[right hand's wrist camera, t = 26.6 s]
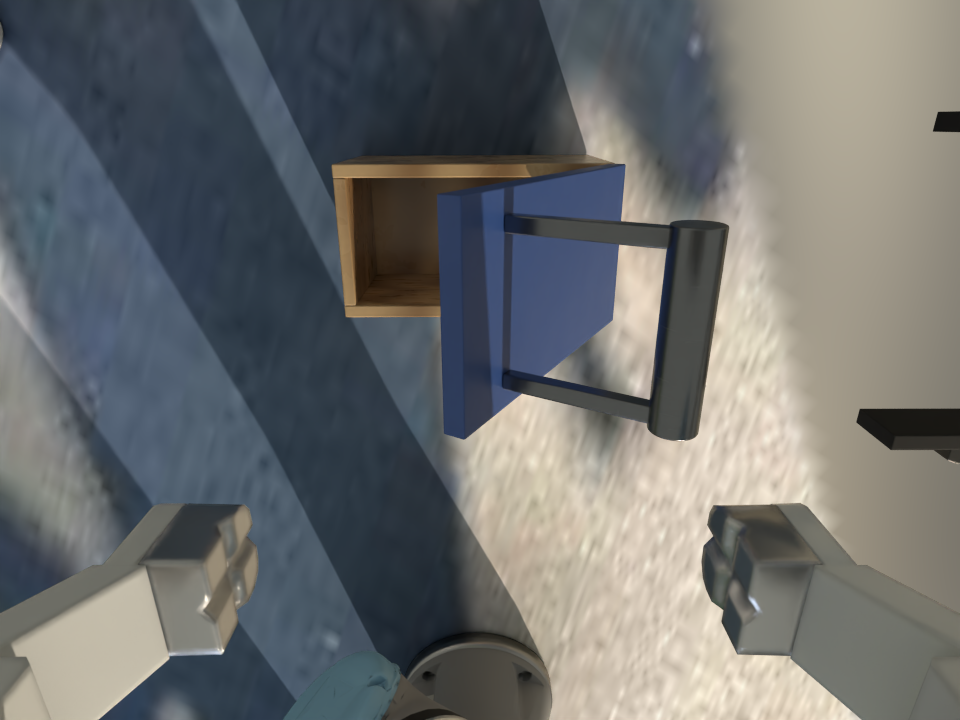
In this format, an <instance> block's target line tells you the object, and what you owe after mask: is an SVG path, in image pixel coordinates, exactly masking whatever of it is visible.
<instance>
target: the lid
mask: <svg viewBox="0 0 960 720" xmlns="http://www.w3.org/2000/svg"><path fill="white" fill-rule="evenodd" d="M624 177H625V164H605V165H599V166H594V167H588V168H582V169H577V170H571V171H565V172H559V173H554V174H548V175H542V176H537V177H531V178H525V179H520V180H514V181H508V182H503V183H497V184H491V185H485V186H480V187H474V188H468V189H463V190H457V191H451V192H446V193H440V194H437V213H438V246H439V280H440V313H441V347H442V381H443V414H444V434H447V435H450V436H454V437H457V438H460V439H466V438H467V437H469V436H470V435H471V434H472V433H473V432H475V431H476V430H477V429H478V428H480V427H481V426H482V425H483V424H485V423H486V422H487V421H488V420H490V419H491V418H492V417H493V416H495V415H496V414H497V413H498V412H499V411H501V410H502V409H503V408H504V407H506V406H507V405H508V404H509V403H511V402H512V401H513V400H514V399H516V398H517V397H518V396H519V395H521V394H527V395H531V396H535V397H539V398H543V399H547V400H552V401H556V402H560V403H564V404H568V405H573V406H577V407H581V408H585V409H589V410H593V411H598V412H602V413H606V414H610V415H614V416H619V417H623V418H627V419H631V420H635V421H639V422H644V423H647V428H648V430H649V431H650V432H651V433H652V434H654V435H656V436H658V437H660V438H663V439H667V440H672V441H686V440H691V439H693V438H695V437H696V436H697V434H698V431H699V424H700V418H701V411H702V404H703V398H704V391H705V384H706V378H707V371H708V365H709V358H710V351H711V345H712V338H713V331H714V325H715V318H716V311H717V305H718V298H719V291H720V285H721V278H722V272H723V265H724V258H725V252H726V245H727V238H728V232H729V226H728V225H727V224H724V223H720V222H714V221H703V220H681V221H674V222H671V223H670V225H660V224H647V223H635V222H622V221H621V213H622V201H623V189H624ZM619 245H629V246H639V247H650V248H660V249H667V252H666V261H665V270H664V279H663V287H662V296H661V305H660V314H659V323H658V331H657V340H656V349H655V358H654V367H653V376H652V384H651V393H650V400H648V399H643V398H638V397H634V396H629V395H625V394H620V393H616V392H611V391H607V390H602V389H598V388H593V387H588V386H584V385H579V384H575V383H570V382H566V381H561V380H557V379H552V378H548V377H543V376H544V375H545V374H546V373H548V372H549V371H550V370H551V369H553V368H554V367H555V366H556V365H558V364H559V363H560V362H561V361H563V360H564V359H565V358H566V357H568V356H569V355H570V354H571V353H572V352H574V351H575V350H576V349H577V348H579V347H580V346H581V345H582V344H584V343H585V342H586V341H587V340H589V339H590V338H591V337H592V336H594V335H595V334H596V333H597V332H598V331H600V330H601V329H602V328H603V327H605V326H606V325H607V324H608V323H610V322H611V321H612V320H613V310H614V298H615V286H616V274H617V262H618V250H619Z"/></svg>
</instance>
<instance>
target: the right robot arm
mask: <svg viewBox="0 0 960 720" xmlns="http://www.w3.org/2000/svg"><path fill="white" fill-rule="evenodd" d="M2 41H3V29H2V25H1V23H0V48H1V45H2ZM252 525H253V524H252V519H251V515H250V510H249V508H247V507H246V506H245V505H234V504H185V503H161V504H158V505H155V506H153V507H152V508H151V509H150V510H149V512H148V513H147V514H146V515H145V516H144V517H143V519H142V520H141V521H140V522H139V523H138V524H137V526H136V527H135V528H134V529H133V530H132V531H131V533H130V534H129V535H128V536H127V537H126V538H125V540H124V541H123V542H122V543H121V544H120V545H119V547H118V548H117V549H116V550H115V551H114V552H113V554H112V555H111V556H110V557H109V558H108V559H107V561H106V562H105V563H104V564H103V565H93V566H91V567H89V568H87V569H85V570H83V571H81V572H79V573H77V574H75V575H73V576H71V577H69V578H68V579H66V580H64V581H62V582H60V583H58V584H56V585H54V586H52V587H50V588H48V589H46V590H44V591H42V592H41V593H39V594H37V595H35V596H33V597H31V598H29V599H27V600H25V601H23V602H21V603H19V604H17V605H15V606H13V607H12V608H10V609H8V610H6V611H4V612H2V613H0V720H99V719H100V718H101V717H102V716H103V715H104V714H106V713H107V712H108V711H109V710H110V709H111V708H113V707H114V706H115V705H116V704H117V703H118V702H120V701H121V700H122V699H123V698H124V697H125V696H127V695H128V694H129V693H130V692H131V691H132V690H134V689H135V688H136V687H137V686H138V685H139V684H141V683H142V682H143V681H144V680H145V679H146V678H148V677H149V676H150V675H151V674H152V673H153V672H155V671H156V670H157V669H158V668H159V667H160V666H162V665H163V664H164V663H165V662H166V661H167V660H169V656H181V655H215V654H223V653H224V650H225V648H226V646H227V644H228V642H229V640H230V638H231V636H232V634H233V632H234V630H235V628H236V626H237V624H238V616H237V611H236V610H237V609H238V608H240V607H241V606H243V605H244V604H245V603H247V602H248V601H249V599H250V597H251V594H252V592H253V590H254V588H255V583H256V578H257V574H258V554H257V547H256V545H255V544H254V543H253V542H252V541H251V540H250V539H249V538H248V537H247V534H248V533H249V531H250V529H251V527H252ZM707 525H708V527H709V529H710V531H711V533H712V534H713V537H712V538H711V539H710V540H709V541H708V542H707V543H706V544H705V545H704V547H703V555H702V573H703V580H704V583H705V587H706V590H707V592H708V595H709V597H710V599H711V601H712V602H713V603H715V604H716V605H717V606H719V607H720V608H722V609H723V610H724V611H723V616H722V624H723V626H724V628H725V630H726V632H727V634H728V636H729V638H730V640H731V642H732V644H733V646H734V648H735V650H736V652H737V654H743V655H779V656H791V659H792V660H793V661H794V662H795V663H796V664H798V665H799V666H800V667H801V668H802V669H803V670H805V671H806V672H807V673H808V674H809V675H810V676H812V677H813V678H814V679H815V680H816V681H817V682H819V683H820V684H821V685H822V686H823V687H824V688H825V689H827V690H828V691H829V692H830V693H831V694H832V695H834V696H835V697H836V698H837V699H838V700H839V701H841V702H842V703H843V704H844V705H845V706H846V707H848V708H849V709H850V710H851V711H852V712H853V713H855V714H856V715H857V716H858V717H859V718H860V719H862V720H960V613H958V612H956V611H954V610H952V609H950V608H948V607H946V606H944V605H942V604H940V603H939V602H937V601H935V600H933V599H931V598H929V597H927V596H925V595H923V594H921V593H919V592H917V591H915V590H914V589H912V588H910V587H908V586H906V585H904V584H902V583H900V582H898V581H896V580H894V579H892V578H890V577H889V576H887V575H885V574H883V573H881V572H879V571H877V570H875V569H873V568H871V567H869V566H867V565H857V564H856V563H855V562H854V561H853V559H852V558H851V557H850V556H849V555H848V554H847V552H846V551H845V550H844V549H843V548H842V547H841V545H840V544H839V543H838V542H837V541H836V540H835V538H834V537H833V536H832V535H831V534H830V533H829V532H828V530H827V529H826V528H825V527H824V526H823V525H822V523H821V522H820V521H819V520H818V519H817V518H816V516H815V515H814V514H813V513H812V512H811V511H810V509H809V508H808V507H807V506H805V505H803V504H801V503H786V504H771V505H713V507H712V509H711V511H710V513H709V519H708V524H707Z"/></svg>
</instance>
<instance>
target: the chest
mask: <svg viewBox="0 0 960 720" xmlns="http://www.w3.org/2000/svg"><path fill="white" fill-rule="evenodd" d="M605 164H615V163H612V162H609V161H606V160H602V159H599V158H596V157H593V156H590V155H436V156H359V157H356V158H352V159H349V160H346V161H342V162H339V163H335V164H332V175H333V185H334V196H335V207H336V217H337V228H338V239H339V250H340V261H341V272H342V283H343V294H344V304H345V316H346V317H441V313H440V280H439V246H438V213H437V194H440V193H446V192H451V191H457V190H463V189H468V188H474V187H480V186H485V185H491V184H497V183H503V182H508V181H514V180H520V179H525V178H531V177H537V176H542V175H548V174H554V173H559V172H565V171H571V170H577V169H582V168H588V167H594V166H599V165H605Z"/></svg>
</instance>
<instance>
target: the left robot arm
mask: <svg viewBox="0 0 960 720" xmlns="http://www.w3.org/2000/svg"><path fill="white" fill-rule="evenodd" d="M933 131H935V132H960V112H938V114H937V118H936V121H935V125H934V129H933ZM857 423H858V424H859V425H860V426H862V427H863V428H864V429H865V430H867V431H868V432H869V433H870V434H872V435H873V436H874V437H875V438H877V439H878V440H879V441H880V442H882V443H883V444H884V445H885V446H887V447H888V448H889V449H890V450H934V451H936V452H937V453H939V454H940V455H941V456H943V457H944V458H946V459H947V460H949V461H951V462H954V463H956V464H960V409H860V410H859V414H858V418H857ZM551 708H552V693H551V685H550V678H549V675H548V672H547V669H546V667H545V666H544V664H543V662H542V661H541V660H540V658H539V657H538V656H537V655H536V654H535V653H534V652H532V651H531V650H530V649H529V648H527V647H526V646H524V645H522V644H521V643H519V642H517V641H514V640H512V639H509V638H506V637H503V636H499V635H494V634H486V633H468V634H460V635H455V636H451V637H448V638H445V639H442V640H440V641H438V642H435V643H433V644H432V645H430V646H428V647H427V648H425V649H424V650H423V651H422V652H420V653H419V654H418V655H417V656H416V657H415V658H414V660H413V661H412V662H411V664H410V666H409V667H408V670H407V672H406V675H405V677H404V676H403V675H402V674H401V671H400V668H399V666H398V665H397V664H395V663H391V662H390V661H389V660H387V659H386V658H385V657H384V656H383V655H381V654H379V653H377V652H374V651H361V652H357V653H354V654H352V655H349V656H347V657H345V658H343V659H342V660H340V661H338V662H337V663H336V664H335V665H333V666H332V667H331V668H329V669H328V670H326V671H325V672H324V673H323V674H321V675H320V676H319V677H318V678H317V679H316V680H315V681H314V682H313V683H312V684H311V685H310V686H309V687H308V688H307V689H306V690H305V692H304V693H303V694H302V695H301V696H300V697H299V699H298V700H297V701H296V702H295V704H294V705H293V706H292V708H291V709H290V710H289V712H288V713H287V714H286V716H285V717H284V719H283V720H549V717H550V712H551Z"/></svg>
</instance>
